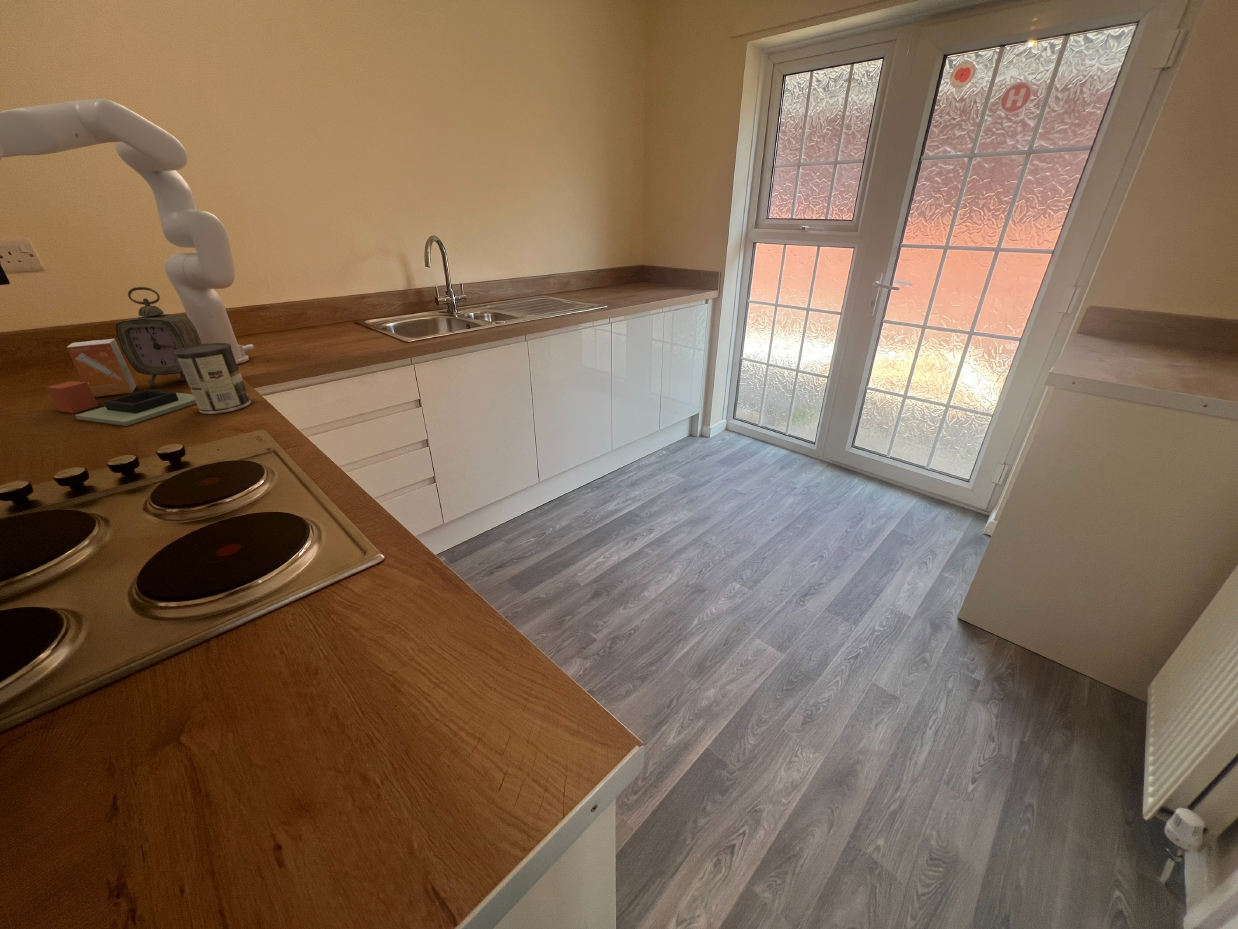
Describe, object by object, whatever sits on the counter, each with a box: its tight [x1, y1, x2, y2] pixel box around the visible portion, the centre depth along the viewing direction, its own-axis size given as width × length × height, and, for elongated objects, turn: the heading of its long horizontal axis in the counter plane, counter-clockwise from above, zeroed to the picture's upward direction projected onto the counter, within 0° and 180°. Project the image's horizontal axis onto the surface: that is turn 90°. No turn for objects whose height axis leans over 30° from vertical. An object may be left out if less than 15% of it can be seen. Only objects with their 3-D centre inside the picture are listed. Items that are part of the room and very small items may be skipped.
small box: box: [66, 338, 137, 398], centre depth 127 cm, size 8×6×13 cm
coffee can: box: [174, 343, 252, 415], centre depth 116 cm, size 10×10×14 cm
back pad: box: [74, 389, 197, 427], centre depth 118 cm, size 18×16×3 cm
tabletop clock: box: [115, 286, 202, 387], centre depth 132 cm, size 14×9×25 cm, turn 99°
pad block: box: [46, 380, 100, 414], centre depth 118 cm, size 5×5×6 cm
